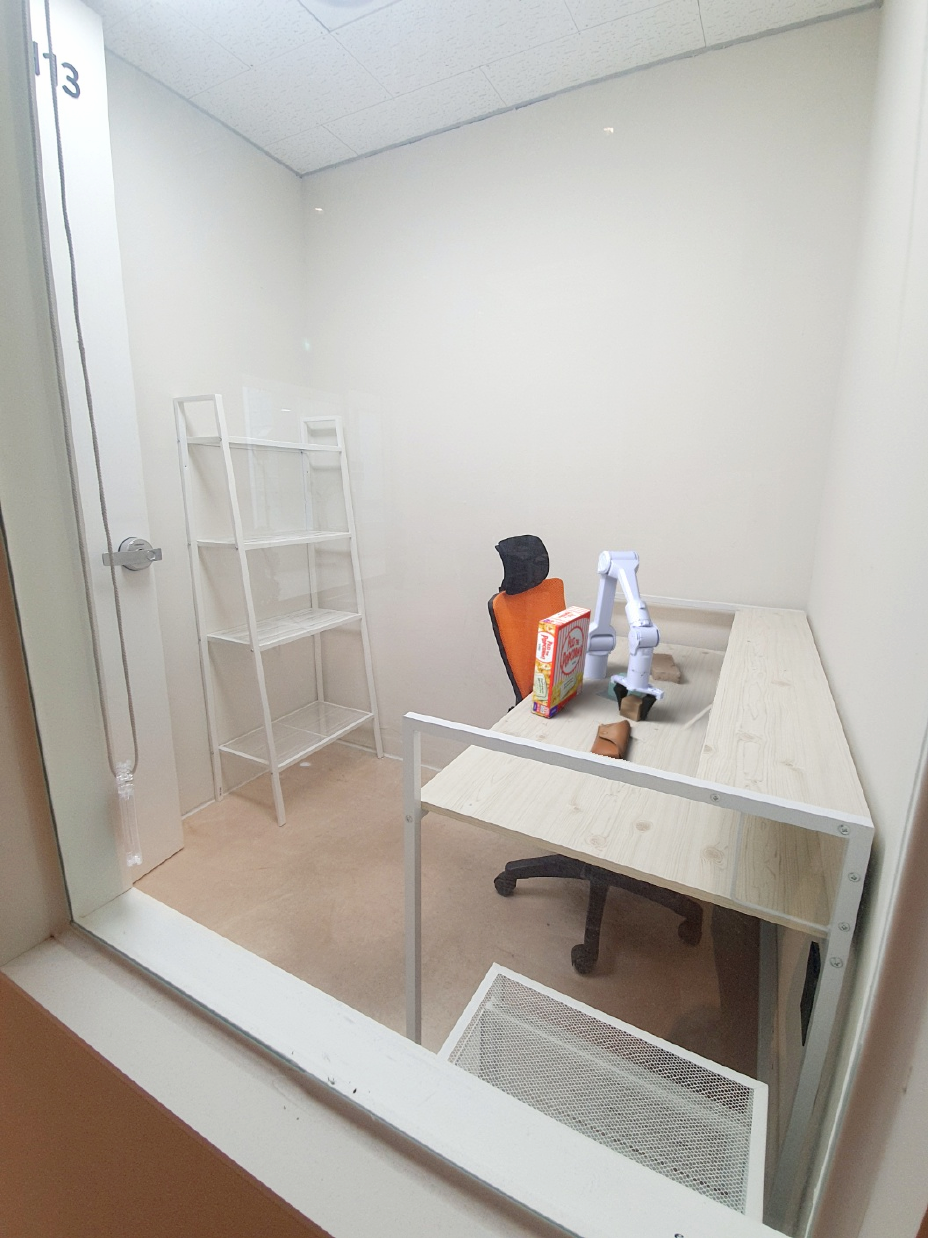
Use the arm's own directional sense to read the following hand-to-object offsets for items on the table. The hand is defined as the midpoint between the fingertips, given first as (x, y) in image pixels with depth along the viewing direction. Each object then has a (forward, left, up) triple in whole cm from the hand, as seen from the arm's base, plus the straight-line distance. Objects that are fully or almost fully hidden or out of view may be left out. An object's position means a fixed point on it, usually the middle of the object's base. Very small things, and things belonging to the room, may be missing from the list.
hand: (632, 714), depth 147 cm
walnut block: (0, 0, -2) cm, 2 cm away
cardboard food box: (-20, -8, -2) cm, 21 cm away
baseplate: (-8, +10, -1) cm, 13 cm away
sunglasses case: (+3, -16, -2) cm, 17 cm away
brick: (-8, +36, -2) cm, 37 cm away
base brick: (-8, +10, 0) cm, 13 cm away
